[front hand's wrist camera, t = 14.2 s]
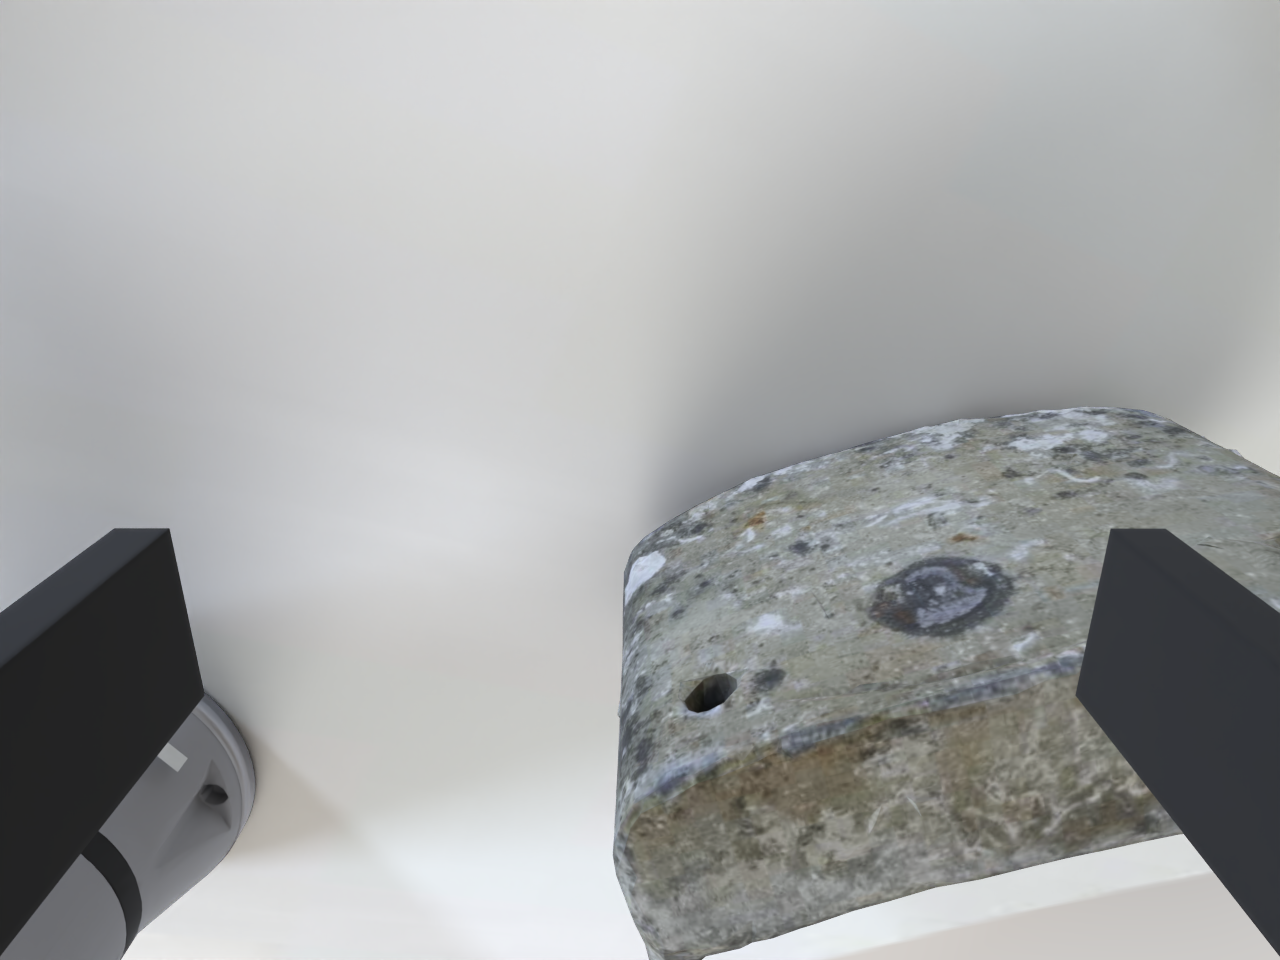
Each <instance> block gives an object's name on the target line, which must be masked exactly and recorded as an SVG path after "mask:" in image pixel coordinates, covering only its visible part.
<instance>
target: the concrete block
mask: <svg viewBox="0 0 1280 960" xmlns="http://www.w3.org/2000/svg"><path fill="white" fill-rule="evenodd" d="M1110 529H1167V530H1168V531H1170V532H1171V533H1172V534H1174V535H1175V536H1176V537H1178V538H1179V539H1180V540H1182V541H1183V542H1184V543H1186V544H1187V545H1189V546H1190V547H1191V548H1193V549H1194V550H1195V551H1197V552H1198V553H1199V554H1201V555H1202V556H1203V557H1205V558H1206V559H1207V560H1209V561H1210V562H1212V563H1213V564H1214V565H1216V566H1217V567H1218V568H1220V569H1221V570H1222V571H1224V572H1225V573H1226V574H1228V575H1229V576H1230V577H1232V578H1233V579H1235V580H1236V581H1237V582H1239V583H1240V584H1241V585H1243V586H1244V587H1245V588H1247V589H1248V590H1249V591H1251V592H1252V593H1253V594H1255V595H1256V596H1258V597H1259V598H1260V599H1262V600H1263V601H1264V602H1266V603H1267V604H1268V605H1270V606H1271V607H1272V608H1274V609H1275V610H1276V611H1278V612H1279V613H1280V477H1279V476H1277V475H1275V474H1273V473H1270V472H1269V471H1267V470H1265V469H1263V468H1261V467H1260V466H1258V465H1256V464H1254V463H1252V462H1250V461H1248V460H1246V459H1244V458H1243V457H1242V455H1241V454H1240V453H1239V452H1238V451H1237V450H1229V449H1225V448H1223V447H1221V446H1219V445H1217V444H1215V443H1213V442H1211V441H1209V440H1207V439H1206V438H1205V437H1204V436H1200V435H1198V434H1196V433H1194V432H1192V431H1190V430H1188V429H1186V428H1184V427H1182V426H1181V425H1179V424H1177V423H1175V422H1173V421H1171V420H1170V419H1167V418H1164V417H1162V416H1159V415H1156V414H1153V413H1150V412H1147V411H1144V410H1134V409H1125V408H1110V407H1078V408H1070V409H1062V410H1038V411H1034V412H1030V413H1024V414H1015V415H1005V416H999V417H993V418H983V419H958V420H955V421H951V422H947V423H943V424H939V425H936V426H925V427H922V428H918V429H915V430H912V431H909V432H905V433H902V434H898V435H895V436H891V437H887V438H883V439H880V440H876V441H872V442H869V443H866V444H862V445H859V446H856V447H853V448H850V449H847V450H844V451H841V452H837V453H833V454H829V455H825V456H822V457H818V458H815V459H811V460H808V461H804V462H800V463H797V464H794V465H791V466H788V467H785V468H783V469H779V470H776V471H773V472H770V473H767V474H764V475H761V476H757V477H754V478H751V479H750V480H748V481H746V482H744V483H742V484H740V485H738V486H736V487H734V488H732V489H730V490H727V491H725V492H723V493H721V494H719V495H717V496H715V497H713V498H711V499H709V500H707V501H705V502H703V503H701V504H699V505H697V506H695V507H693V508H691V509H690V510H688V511H686V512H684V513H683V514H681V515H679V516H677V517H675V518H674V519H672V520H670V521H669V522H667V523H666V524H664V525H663V526H661V527H659V528H658V529H656V530H655V531H653V532H652V533H650V534H649V535H647V536H646V537H644V538H643V539H642V540H641V542H640V543H639V544H638V545H637V546H636V547H635V548H634V549H633V551H632V553H631V554H630V557H629V560H628V563H627V566H626V569H625V571H624V594H623V664H622V680H621V697H620V704H619V710H618V716H619V717H620V732H619V751H618V773H617V790H616V812H615V834H614V846H613V858H614V864H615V870H616V875H617V878H618V881H619V883H620V886H621V889H622V892H623V894H624V897H625V900H626V902H627V905H628V908H629V910H630V913H631V915H632V918H633V920H634V923H635V925H636V927H637V929H638V931H639V933H640V935H641V937H642V939H643V941H644V943H645V945H646V949H647V953H648V957H649V960H702V959H703V958H704V957H705V956H709V955H713V954H718V953H722V952H726V951H731V950H735V949H739V948H742V947H744V946H746V945H748V944H750V943H752V942H757V941H761V940H766V939H771V938H775V937H777V936H780V935H783V934H786V933H789V932H791V931H794V930H797V929H800V928H803V927H807V926H810V925H813V924H816V923H819V922H822V921H825V920H828V919H831V918H834V917H837V916H840V915H843V914H845V913H848V912H851V911H854V910H858V909H862V908H865V907H869V906H873V905H876V904H880V903H884V902H888V901H891V900H895V899H898V898H901V897H905V896H908V895H911V894H915V893H918V892H922V891H925V890H928V889H932V888H935V887H941V886H946V885H952V884H957V883H963V882H968V881H974V880H979V879H983V878H987V877H991V876H995V875H999V874H1003V873H1007V872H1011V871H1015V870H1019V869H1023V868H1028V867H1032V866H1036V865H1040V864H1044V863H1048V862H1052V861H1057V860H1061V859H1065V858H1069V857H1074V856H1079V855H1084V854H1089V853H1093V852H1098V851H1103V850H1108V849H1112V848H1117V847H1121V846H1126V845H1130V844H1135V843H1139V842H1144V841H1149V840H1154V839H1159V838H1164V837H1168V836H1173V835H1178V834H1183V832H1182V831H1181V830H1180V828H1179V827H1178V826H1177V825H1176V823H1175V822H1174V821H1173V819H1172V818H1171V817H1170V816H1169V814H1168V813H1167V812H1166V811H1165V809H1164V808H1163V807H1162V805H1161V804H1160V803H1159V802H1158V800H1157V799H1156V798H1155V796H1154V795H1153V794H1152V793H1151V791H1150V790H1149V789H1148V788H1147V786H1146V785H1145V784H1144V782H1143V781H1142V780H1141V779H1140V777H1139V776H1138V775H1137V774H1136V772H1135V771H1134V770H1133V768H1132V767H1131V766H1130V765H1129V763H1128V762H1127V761H1126V759H1125V758H1124V757H1123V756H1122V754H1121V753H1120V752H1119V751H1118V749H1117V748H1116V747H1115V745H1114V744H1113V743H1112V742H1111V740H1110V739H1109V738H1108V737H1107V735H1106V734H1105V733H1104V731H1103V730H1102V729H1101V728H1100V726H1099V725H1098V724H1097V722H1096V721H1095V720H1094V719H1093V717H1092V716H1091V715H1090V714H1089V712H1088V711H1087V710H1086V708H1085V707H1084V706H1083V705H1082V703H1081V702H1080V701H1079V699H1078V698H1077V697H1076V696H1075V695H1076V690H1077V685H1078V680H1079V676H1080V671H1081V666H1082V661H1083V657H1084V652H1085V647H1086V643H1087V638H1088V633H1089V628H1090V624H1091V619H1092V614H1093V609H1094V605H1095V600H1096V595H1097V591H1098V586H1099V581H1100V576H1101V572H1102V567H1103V562H1104V558H1105V553H1106V548H1107V543H1108V539H1109V534H1110Z"/></svg>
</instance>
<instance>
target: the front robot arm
mask: <svg viewBox="0 0 1280 960" xmlns="http://www.w3.org/2000/svg"><path fill="white" fill-rule="evenodd" d="M1075 696H1076V697H1077V698H1078V699H1079V701H1080V702H1081V703H1082V705H1083V706H1084V707H1085V708H1086V710H1087V711H1088V712H1089V714H1090V715H1091V716H1092V717H1093V719H1094V720H1095V721H1096V722H1097V724H1098V725H1099V726H1100V728H1101V729H1102V730H1103V731H1104V733H1105V734H1106V735H1107V737H1108V738H1109V739H1110V740H1111V742H1112V743H1113V744H1114V745H1115V747H1116V748H1117V749H1118V751H1119V752H1120V753H1121V754H1122V756H1123V757H1124V758H1125V759H1126V761H1127V762H1128V763H1129V765H1130V766H1131V767H1132V768H1133V770H1134V771H1135V772H1136V774H1137V775H1138V776H1139V777H1140V779H1141V780H1142V781H1143V782H1144V784H1145V785H1146V786H1147V788H1148V789H1149V790H1150V791H1151V793H1152V794H1153V795H1154V796H1155V798H1156V799H1157V800H1158V802H1159V803H1160V804H1161V805H1162V807H1163V808H1164V809H1165V811H1166V812H1167V813H1168V814H1169V816H1170V817H1171V818H1172V819H1173V821H1174V822H1175V823H1176V825H1177V826H1178V827H1179V828H1180V830H1181V831H1182V832H1183V834H1184V835H1185V836H1186V837H1187V839H1188V840H1189V841H1190V842H1191V844H1192V845H1193V846H1194V848H1195V849H1196V850H1197V851H1198V853H1199V854H1200V855H1201V856H1202V858H1203V859H1204V860H1205V862H1206V863H1207V864H1208V865H1209V867H1210V868H1211V869H1212V871H1213V872H1214V873H1215V874H1216V876H1217V877H1218V878H1219V879H1220V881H1221V882H1222V883H1223V885H1224V886H1225V887H1226V888H1227V890H1228V891H1229V892H1230V893H1231V895H1232V896H1233V897H1234V899H1235V900H1236V901H1237V902H1238V904H1239V905H1240V906H1241V908H1242V909H1243V910H1244V911H1245V913H1246V914H1247V915H1248V916H1249V918H1250V919H1251V920H1252V922H1253V923H1254V924H1255V925H1256V927H1257V928H1258V929H1259V931H1260V932H1261V933H1262V934H1263V935H1264V937H1265V938H1266V939H1267V941H1268V942H1269V943H1270V945H1271V946H1272V947H1273V948H1274V950H1275V951H1276V952H1277V953H1278V955H1279V956H1280V613H1279V612H1278V611H1276V610H1275V609H1274V608H1272V607H1271V606H1270V605H1268V604H1267V603H1266V602H1264V601H1263V600H1262V599H1260V598H1259V597H1258V596H1256V595H1255V594H1253V593H1252V592H1251V591H1249V590H1248V589H1247V588H1245V587H1244V586H1243V585H1241V584H1240V583H1239V582H1237V581H1236V580H1235V579H1233V578H1232V577H1230V576H1229V575H1228V574H1226V573H1225V572H1224V571H1222V570H1221V569H1220V568H1218V567H1217V566H1216V565H1214V564H1213V563H1212V562H1210V561H1209V560H1207V559H1206V558H1205V557H1203V556H1202V555H1201V554H1199V553H1198V552H1197V551H1195V550H1194V549H1193V548H1191V547H1190V546H1189V545H1187V544H1186V543H1184V542H1183V541H1182V540H1180V539H1179V538H1178V537H1176V536H1175V535H1174V534H1172V533H1171V532H1170V531H1168V530H1167V529H1110V534H1109V539H1108V543H1107V548H1106V553H1105V558H1104V562H1103V567H1102V572H1101V576H1100V581H1099V586H1098V591H1097V595H1096V600H1095V605H1094V609H1093V614H1092V619H1091V624H1090V628H1089V633H1088V638H1087V643H1086V647H1085V652H1084V657H1083V661H1082V666H1081V671H1080V676H1079V680H1078V685H1077V690H1076V695H1075ZM254 796H255V775H254V769H253V764H252V760H251V757H250V754H249V751H248V749H247V746H246V744H245V742H244V740H243V738H242V736H241V735H240V733H239V731H238V729H237V728H236V726H235V725H234V724H233V722H232V721H231V719H230V718H229V717H228V716H227V714H226V713H225V712H224V711H223V710H222V709H221V708H220V707H219V706H218V705H217V704H216V703H215V702H214V701H213V700H212V699H211V698H210V697H209V696H208V695H207V694H205V693H204V690H203V685H202V680H201V676H200V671H199V666H198V661H197V657H196V652H195V647H194V643H193V638H192V633H191V628H190V624H189V619H188V614H187V609H186V605H185V600H184V595H183V591H182V586H181V581H180V576H179V572H178V567H177V562H176V558H175V553H174V548H173V543H172V539H171V534H170V529H113V530H112V531H110V532H109V533H108V534H106V535H105V536H104V537H102V538H101V539H100V540H98V541H97V542H96V543H94V544H93V545H91V546H90V547H89V548H87V549H86V550H85V551H83V552H82V553H81V554H79V555H78V556H77V557H75V558H74V559H73V560H71V561H70V562H68V563H67V564H66V565H64V566H63V567H62V568H60V569H59V570H58V571H56V572H55V573H54V574H52V575H51V576H50V577H48V578H47V579H45V580H44V581H43V582H41V583H40V584H39V585H37V586H36V587H35V588H33V589H32V590H31V591H29V592H28V593H27V594H25V595H24V596H22V597H21V598H20V599H18V600H17V601H16V602H14V603H13V604H12V605H10V606H9V607H8V608H6V609H5V610H4V611H2V612H1V613H0V960H121V959H122V957H123V955H124V954H125V952H126V951H127V949H128V948H129V946H130V945H131V943H132V941H133V940H134V938H135V937H136V935H137V934H138V933H139V932H140V931H141V930H142V929H143V928H145V927H146V926H147V925H148V924H149V923H151V922H152V921H153V920H154V919H155V918H157V917H158V916H159V915H160V914H161V913H162V912H164V911H165V910H166V909H167V908H168V907H170V906H171V905H172V904H173V903H174V902H176V901H177V900H178V899H179V898H180V897H182V896H183V895H184V894H185V893H186V892H187V891H189V890H190V889H191V888H192V887H193V886H195V885H196V884H197V883H198V882H199V881H201V880H202V879H203V878H204V877H205V876H207V875H208V874H209V873H210V872H211V871H212V870H213V869H214V868H215V867H216V866H217V865H218V864H219V863H220V862H221V861H222V860H223V858H224V857H225V856H226V855H227V854H228V852H229V851H230V849H231V848H232V846H233V845H234V843H235V841H236V839H237V838H238V836H239V834H240V833H241V831H242V829H243V827H244V826H245V824H246V822H247V820H248V817H249V815H250V812H251V809H252V806H253V801H254Z"/></svg>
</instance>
